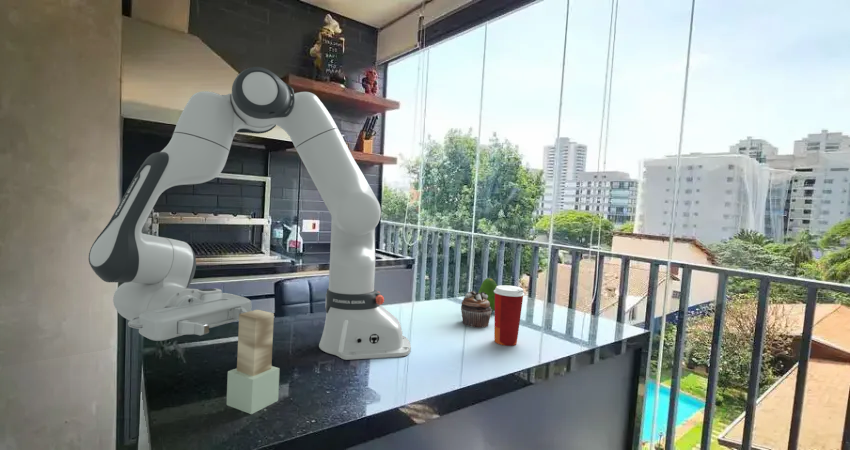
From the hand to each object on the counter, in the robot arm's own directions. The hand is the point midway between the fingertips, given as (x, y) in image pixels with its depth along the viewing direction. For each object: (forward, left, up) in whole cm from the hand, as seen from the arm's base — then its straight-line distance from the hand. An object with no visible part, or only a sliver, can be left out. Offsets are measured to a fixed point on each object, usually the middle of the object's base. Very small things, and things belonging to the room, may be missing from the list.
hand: (228, 323), depth 79 cm
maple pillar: (-6, +4, -7) cm, 10 cm away
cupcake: (-59, -48, -13) cm, 77 cm away
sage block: (-6, +4, -13) cm, 15 cm away
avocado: (-67, -62, -13) cm, 92 cm away
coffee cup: (-63, -31, -13) cm, 72 cm away
